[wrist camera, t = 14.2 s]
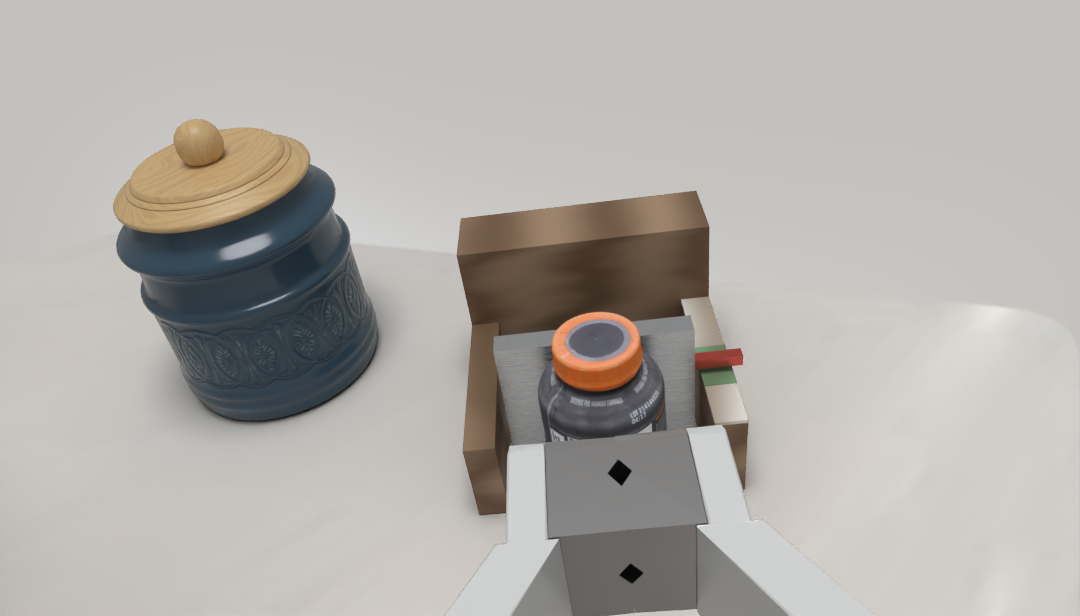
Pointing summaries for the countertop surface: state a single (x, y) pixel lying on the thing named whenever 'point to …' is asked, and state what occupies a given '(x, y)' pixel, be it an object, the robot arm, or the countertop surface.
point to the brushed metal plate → (659, 338)
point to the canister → (247, 270)
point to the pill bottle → (600, 381)
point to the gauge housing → (585, 303)
